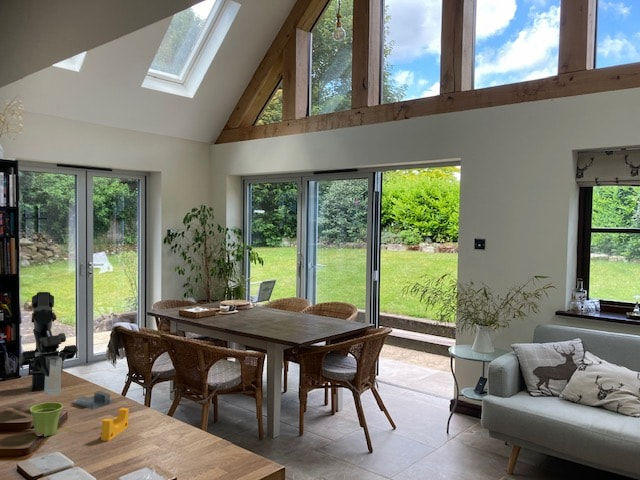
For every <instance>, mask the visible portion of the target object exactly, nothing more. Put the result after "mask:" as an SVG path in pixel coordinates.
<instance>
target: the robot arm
mask: <svg viewBox="0 0 640 480" xmlns="http://www.w3.org/2000/svg"><path fill="white" fill-rule="evenodd" d="M54 306H55V296H54V295H52V294H51V292H49V291H38V292H36V294H35V295H32V296H31V308H32V310H33V311H32V312H31V323H33V329H32V332H33V335H34V340H35V349H34V350H33V349H32V350H24V351H22V352H21V354H20V356H19V358H18V365H19V366H20V367H25V366H28V375H27V376H31V385H29V390H30V391H31V392H36V391H44V389H45V375H46V376H47V377H48V376H49V372H48V369H47V366H46V357H54V356H59V357H61V358H62V368H61V375H62V374H63V365H64V362H65V361H66V360H72V359H74V358H75V356H76V354H77V353H78V352H79V351H78V350H79V349H78V346H77V345H75V344H72V345H71V344H70V345H65V346H64V347H63V349H61V350H60V349H59V348H60V345H61V344H62V343H65V342H66V341H67V337H66V334H65V333H64V332H61V333H58V334H57V335H53V333H52V330H51V329H52V327H53V326H52V325H53V322H55V321H57V315H56V314H55V312H54V311H53V308H54ZM58 349H59V350H58Z"/></svg>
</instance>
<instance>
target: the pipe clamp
mask: <svg viewBox="0 0 640 480" xmlns="http://www.w3.org/2000/svg"><path fill="white" fill-rule="evenodd" d="M129 414H130V408H129V407H128V408H126V407H120V409H118V415H117V416H115V417H114V418H104V419H102V421H101V438H100V439H101V441H104V442H105V441H107V442H110V441H111V440H112V439H113V438H115V437H117V436H118V435H119V434H121V433H122V432H123V431H124V430H126V429H127V428H128V427H129V416H130V415H129Z"/></svg>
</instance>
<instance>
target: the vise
mask: <svg viewBox="0 0 640 480" xmlns="http://www.w3.org/2000/svg"><path fill="white" fill-rule="evenodd" d="M93 394H94V395H93V396H90V397H88V396H84V395H82V396H79V397H77V398H74V399H73V401H72V402H71V404H74V405H77V406H80V407H83V408H86V409H90V410H91V411H92V410H96V409H98V408H103V407H105V406H108V405H112V404H114V403H116V401H115V400H114V401H113V400H111V394H110V393H108V392H104V391H102V390H100V391H95V392H94V393H93Z"/></svg>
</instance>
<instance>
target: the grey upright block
mask: <svg viewBox="0 0 640 480" xmlns="http://www.w3.org/2000/svg"><path fill="white" fill-rule="evenodd" d="M46 366H47V369H48V372H49V376H48V377H47V376H46V375H45V389H44V390H43V391H44V392H43V394H45V395H46V396H48V397H51V396H57V395H60V394H61V387H62V384H61V383H62V374H61V368H62V358H61V357H59V356H54V357H46ZM62 369H63V368H62Z"/></svg>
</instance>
